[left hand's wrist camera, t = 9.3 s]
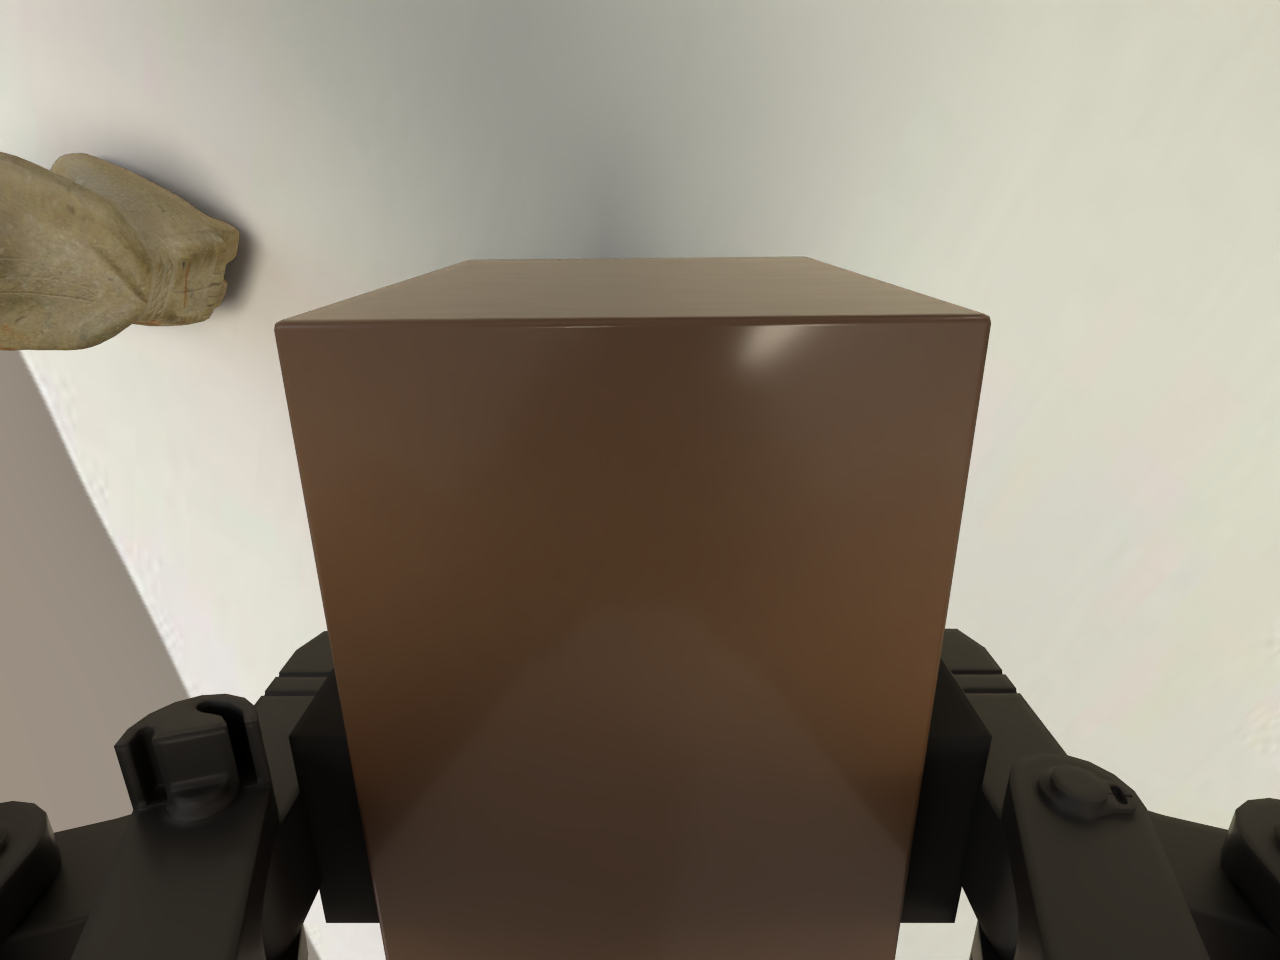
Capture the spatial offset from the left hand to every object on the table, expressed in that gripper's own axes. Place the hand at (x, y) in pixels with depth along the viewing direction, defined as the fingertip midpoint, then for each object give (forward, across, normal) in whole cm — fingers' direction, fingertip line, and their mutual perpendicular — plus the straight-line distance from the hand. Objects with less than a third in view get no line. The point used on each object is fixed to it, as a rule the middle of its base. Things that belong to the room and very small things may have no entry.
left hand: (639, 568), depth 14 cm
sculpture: (+19, -19, +5) cm, 28 cm away
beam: (0, 0, -27) cm, 27 cm away
